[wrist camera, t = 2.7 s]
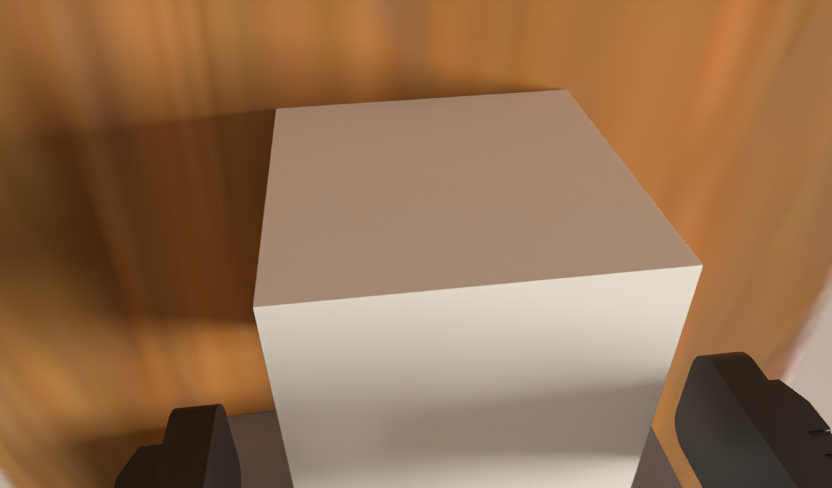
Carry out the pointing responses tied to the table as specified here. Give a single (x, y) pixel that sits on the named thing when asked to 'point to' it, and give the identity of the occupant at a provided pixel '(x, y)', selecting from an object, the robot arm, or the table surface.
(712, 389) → the robot arm
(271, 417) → the slate block
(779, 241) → the table surface
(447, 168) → the cream block
